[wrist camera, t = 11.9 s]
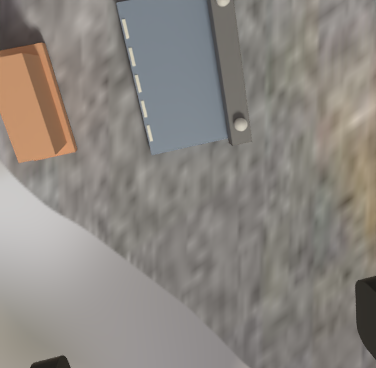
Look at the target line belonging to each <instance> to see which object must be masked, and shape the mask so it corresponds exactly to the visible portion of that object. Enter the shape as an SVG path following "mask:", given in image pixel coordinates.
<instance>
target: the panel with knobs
mask: <svg viewBox="0 0 376 368" xmlns="http://www.w3.org/2000/svg"><path fill="white" fill-rule="evenodd" d="M116 5H117V9H118V13H119V17H120V22H121V26H122V30H123V35H124V39H125V43H126V47H127V52H128V56H129V60H130V64H131V69H132V73H133V77H134V82H135V86H136V90H137V94H138V99H139V103H140V107H141V111H142V116H143V120H144V124H145V129H146V133H147V137H148V141H149V146H150V150H151V154H152V155H155V154H159V153H164V152H168V151H173V150H177V149H182V148H186V147H191V146H195V145H200V144H204V143H209V142H213V141H218V140H222V139H227V138H228V140H229V143H230V144H231V145H232V146H235V145H239V144H244V143H248V142H252V137H251V129H250V122H249V114H248V106H247V99H246V91H245V83H244V76H243V68H242V61H241V53H240V45H239V38H238V30H237V22H236V15H235V7H234V0H128V1H123V2H117V3H116Z"/></svg>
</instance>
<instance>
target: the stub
mask: <svg viewBox="0 0 376 368" xmlns="http://www.w3.org/2000/svg"><path fill="white" fill-rule="evenodd" d="M0 113H1V116H2V119H3V121H4V124H5V127H6V130H7V132H8V135H9V138H10V140H11V143H12V146H13V148H14V151H15V154H16V157H17V159H18V162H19V163H21V162H26V161H30V160H34V161H36V160H40V159H45V158H49V157H54V156H59V155H63V154H68V153H72V152H76V150H77V146H76V143H75V140H74V136H73V133H72V130H71V127H70V123H69V120H68V117H67V114H66V110H65V107H64V104H63V101H62V97H61V94H60V91H59V88H58V84H57V81H56V78H55V74H54V71H53V68H52V65H51V61H50V58H49V55H48V52H47V48H46V45H45V43H37V44H32V45H27V46H21V47H16V48H11V49H6V50H1V51H0Z"/></svg>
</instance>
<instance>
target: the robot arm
mask: <svg viewBox="0 0 376 368" xmlns="http://www.w3.org/2000/svg"><path fill="white" fill-rule="evenodd" d="M355 293H356V323H357V329H358V333H359V335H360V338H361V340H362V342H363V344H364V345H365V347H366V348H367V350H368V351H369V352H370V353H371V354H372V356H373V357H374V358H375V359H376V276H373V277H369V278H365V279H362V280H358V281H357V282H356V285H355ZM30 368H70V365H69V363H68V360H67V358H66V357H65V356H59V357H54V358H51V359H47V360H43V361H39V362H35V363H33V364H32V365H31V367H30Z"/></svg>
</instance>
